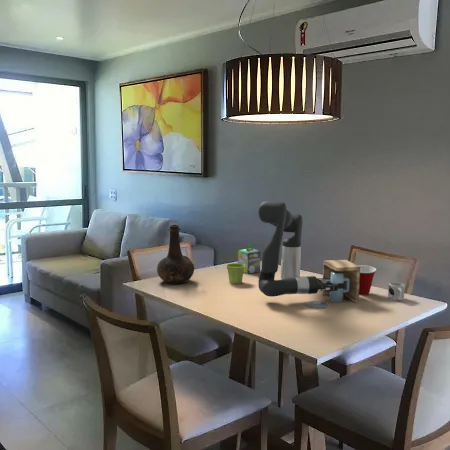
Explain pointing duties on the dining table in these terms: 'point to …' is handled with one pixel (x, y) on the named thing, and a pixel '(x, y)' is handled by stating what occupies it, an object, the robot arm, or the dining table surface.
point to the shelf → (349, 272)
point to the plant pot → (235, 272)
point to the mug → (396, 291)
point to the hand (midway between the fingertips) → (342, 283)
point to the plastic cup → (366, 279)
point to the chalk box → (250, 259)
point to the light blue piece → (337, 295)
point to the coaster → (317, 304)
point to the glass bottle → (175, 261)
